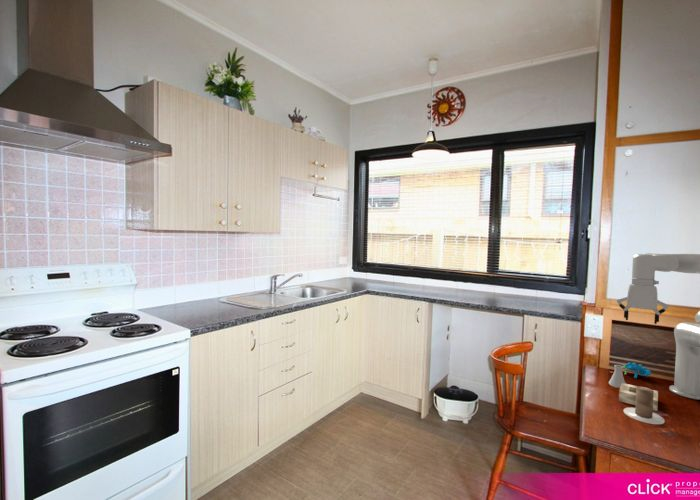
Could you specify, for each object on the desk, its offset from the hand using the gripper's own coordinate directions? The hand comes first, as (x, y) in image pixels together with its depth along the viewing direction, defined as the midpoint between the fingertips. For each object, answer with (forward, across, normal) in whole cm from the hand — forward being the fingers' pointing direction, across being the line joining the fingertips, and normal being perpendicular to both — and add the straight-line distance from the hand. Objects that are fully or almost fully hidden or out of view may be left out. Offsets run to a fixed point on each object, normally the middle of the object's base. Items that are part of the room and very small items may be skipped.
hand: (640, 321), depth 153 cm
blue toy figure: (+33, +1, -26) cm, 42 cm away
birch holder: (+32, -1, +11) cm, 34 cm away
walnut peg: (+31, -3, +25) cm, 40 cm away
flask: (+33, +7, -3) cm, 33 cm away
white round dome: (+32, -3, +26) cm, 41 cm away
